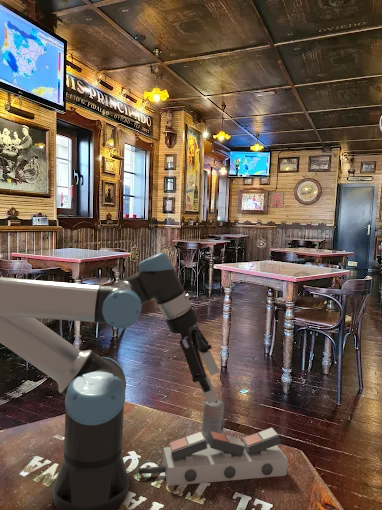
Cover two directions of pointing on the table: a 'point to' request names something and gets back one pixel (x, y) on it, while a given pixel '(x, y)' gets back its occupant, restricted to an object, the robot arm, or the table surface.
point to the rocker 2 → (225, 443)
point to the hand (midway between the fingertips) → (214, 386)
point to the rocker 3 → (261, 440)
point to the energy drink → (212, 418)
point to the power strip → (220, 466)
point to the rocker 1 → (188, 445)
